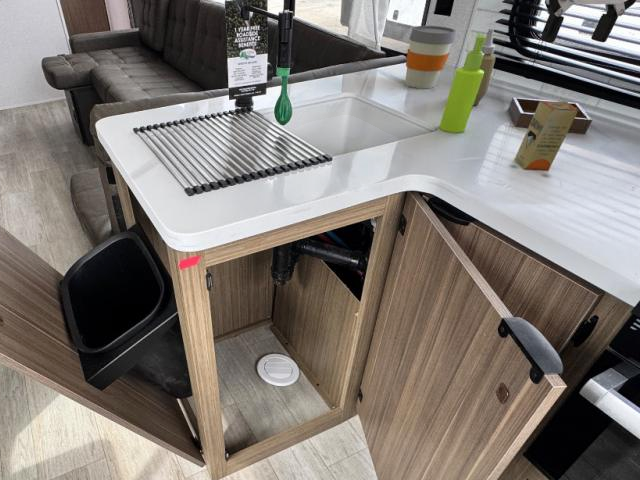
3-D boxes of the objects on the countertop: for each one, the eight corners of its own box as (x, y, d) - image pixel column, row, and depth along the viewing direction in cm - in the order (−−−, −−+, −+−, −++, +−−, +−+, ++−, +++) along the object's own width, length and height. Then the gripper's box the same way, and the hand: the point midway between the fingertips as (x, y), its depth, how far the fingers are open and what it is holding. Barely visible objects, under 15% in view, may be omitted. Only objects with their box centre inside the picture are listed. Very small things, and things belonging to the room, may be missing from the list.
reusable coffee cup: (391, 81, 139) (402, 27, 130) (422, 77, 143) (435, 24, 133) (417, 92, 131) (431, 34, 121) (449, 87, 134) (466, 31, 124)
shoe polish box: (523, 169, 90) (551, 109, 82) (514, 159, 93) (540, 100, 85) (548, 170, 89) (578, 109, 81) (538, 160, 93) (566, 101, 85)
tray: (571, 116, 115) (578, 103, 113) (585, 133, 105) (592, 120, 103) (507, 110, 118) (512, 97, 116) (515, 126, 109) (520, 113, 107)
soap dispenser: (465, 125, 109) (496, 33, 96) (463, 134, 104) (496, 39, 91) (440, 121, 111) (468, 31, 98) (438, 130, 106) (466, 36, 93)
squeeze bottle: (487, 107, 120) (514, 32, 108) (458, 107, 120) (482, 32, 108) (475, 98, 126) (499, 26, 114) (447, 98, 126) (469, 26, 114)
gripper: (590, -85, 65) (538, 45, 76) (700, -84, 65) (632, 45, 77) (560, -84, 70) (515, 37, 82) (661, -84, 71) (603, 36, 82)
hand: (572, 41), depth 79 cm, fingers open, 9 cm apart
